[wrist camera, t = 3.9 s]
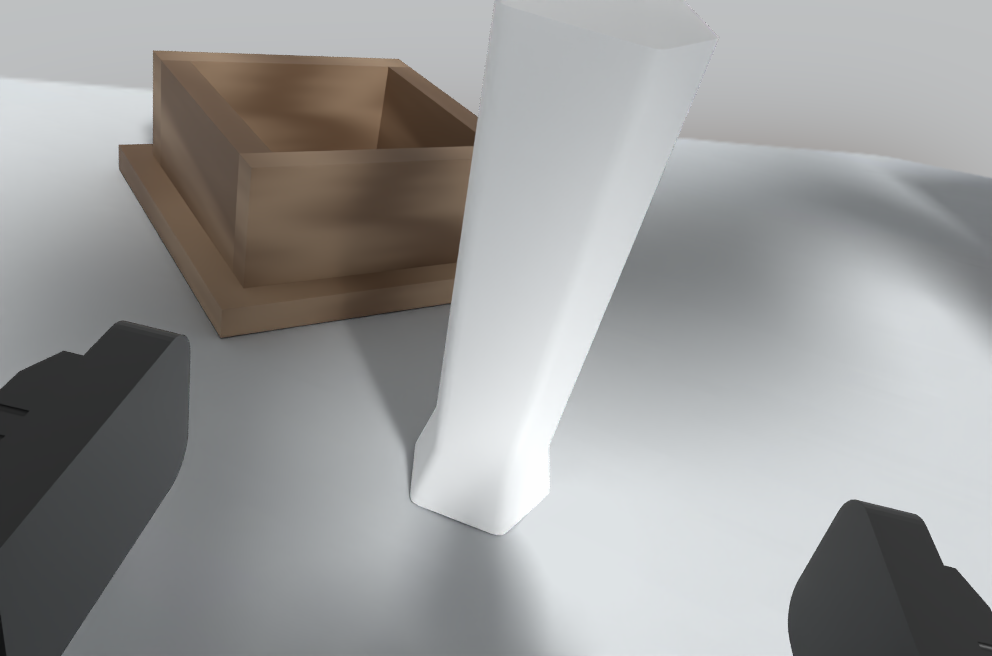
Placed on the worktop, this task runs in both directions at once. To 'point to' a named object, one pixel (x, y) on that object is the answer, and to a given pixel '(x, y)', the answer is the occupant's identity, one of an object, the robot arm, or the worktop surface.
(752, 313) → the worktop surface
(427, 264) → the holder
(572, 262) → the perfume bottle
